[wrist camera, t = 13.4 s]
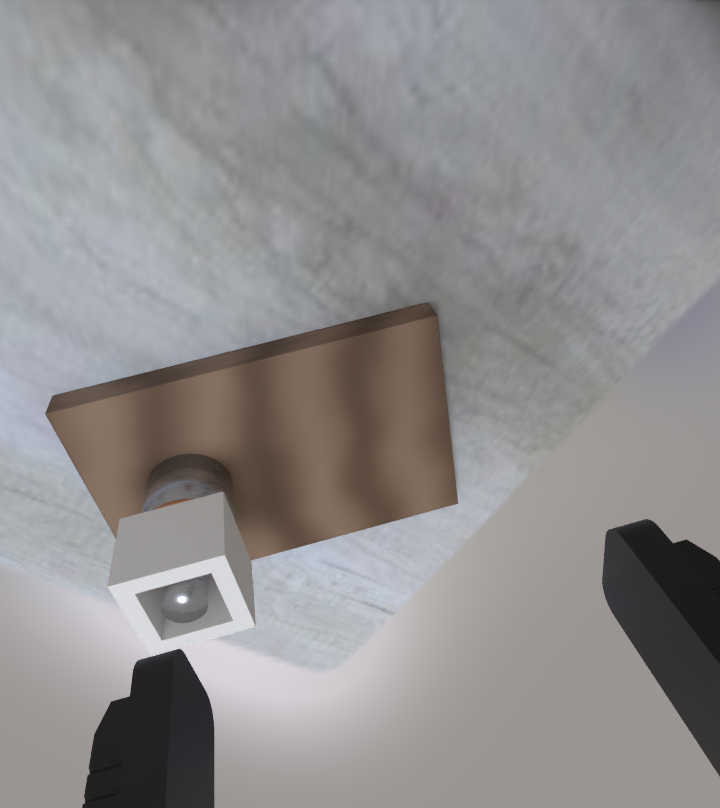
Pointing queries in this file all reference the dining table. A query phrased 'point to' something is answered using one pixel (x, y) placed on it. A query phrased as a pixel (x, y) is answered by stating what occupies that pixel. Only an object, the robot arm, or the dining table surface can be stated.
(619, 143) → the dining table surface
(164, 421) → the pipe stand
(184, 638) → the collar
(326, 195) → the dining table surface
